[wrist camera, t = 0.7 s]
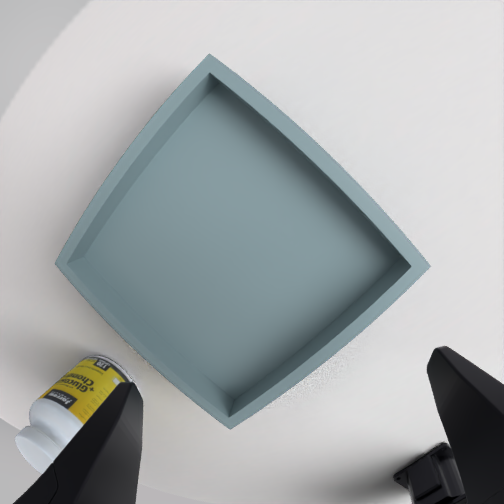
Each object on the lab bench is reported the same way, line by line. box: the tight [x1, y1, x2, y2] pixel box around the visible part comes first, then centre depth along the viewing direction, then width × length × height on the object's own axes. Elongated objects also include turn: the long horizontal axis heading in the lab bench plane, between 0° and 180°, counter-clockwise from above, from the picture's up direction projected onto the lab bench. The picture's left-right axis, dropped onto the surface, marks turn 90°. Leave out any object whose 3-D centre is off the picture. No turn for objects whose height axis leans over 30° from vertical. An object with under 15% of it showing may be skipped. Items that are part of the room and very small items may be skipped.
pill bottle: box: [15, 356, 132, 474], centre depth 21 cm, size 6×6×12 cm
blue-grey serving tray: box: [55, 54, 431, 429], centre depth 19 cm, size 16×16×5 cm
